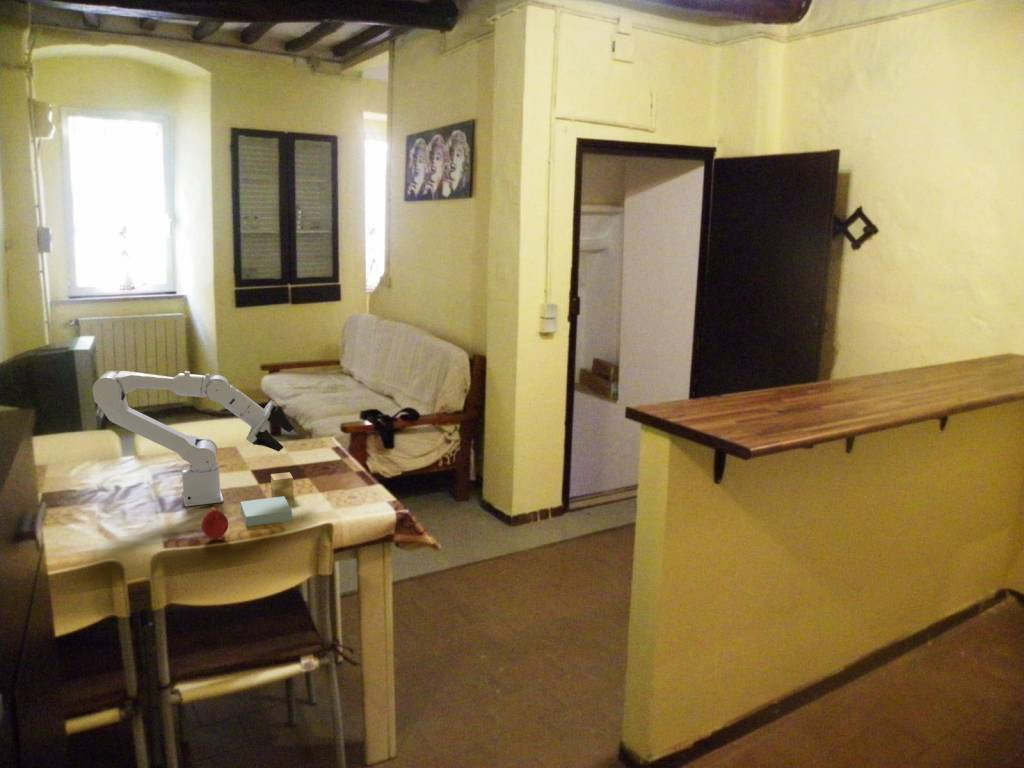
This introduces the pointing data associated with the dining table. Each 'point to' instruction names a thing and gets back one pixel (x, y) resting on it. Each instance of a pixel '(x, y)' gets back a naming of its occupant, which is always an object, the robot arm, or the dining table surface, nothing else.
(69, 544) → the dining table surface
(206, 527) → the onion
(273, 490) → the ochre block
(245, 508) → the base block
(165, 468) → the dining table surface
